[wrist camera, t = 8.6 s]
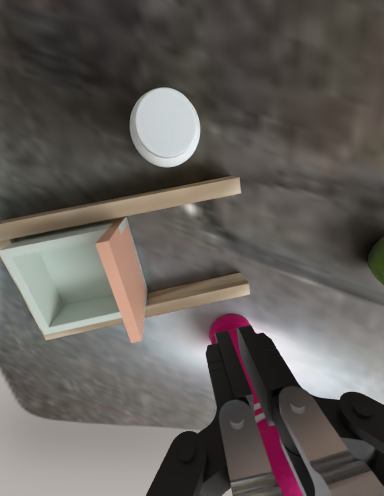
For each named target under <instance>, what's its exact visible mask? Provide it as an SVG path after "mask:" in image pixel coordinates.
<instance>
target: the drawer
mask: <svg viewBox="0 0 384 496" xmlns="http://www.w3.org/2000/svg"><path fill="white" fill-rule="evenodd" d="M0 255H1V256H2V258H3V260H4V262H5V264H6V266H7V267H8V269H9V271H10V273H11V275H12V277H13V278H14V280H15V282H16V284H17V286H18V288H19V289H20V291H21V293H22V295H23V297H24V299H25V300H26V302H27V304H28V306H29V308H30V310H31V311H32V313H33V315H34V317H35V319H36V321H37V323H38V324H39V326H40V328H41V330H42V332H43V334H44V335H47V334H51V333H56V332H60V331H65V330H69V329H74V328H78V327H83V326H87V325H92V324H96V323H101V322H105V321H109V320H114V319H118V318H122V319H123V322H124V325H125V327H126V330H127V333H128V336H129V338H130V341H131V343H134V342H138V341H142V335H143V327H144V318H145V310H146V301H147V292H148V289H147V285H146V282H145V278H144V275H143V271H142V268H141V265H140V261H139V258H138V254H137V251H136V247H135V244H134V240H133V237H132V234H131V230H130V227H129V223H128V220H127V216H124V217H119V218H114V219H109V220H103V221H98V222H93V223H88V224H83V225H78V226H73V227H68V228H63V229H58V230H53V231H48V232H43V233H38V234H33V235H28V236H26V237H24V238H22V239H20V240H18V241H16V242H14V243H12V244H11V245H9V246H7V247H5V248H3V249H1V250H0Z"/></svg>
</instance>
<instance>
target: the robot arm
mask: <svg viewBox="0 0 384 496" xmlns="http://www.w3.org/2000/svg"><path fill="white" fill-rule="evenodd" d="M237 334H238V342H239V350H240V354H241V358H242V361H243V363H244V366H245V368H246V371H247V373H248V376H249V378H250V381H251V383H252V386H253V388H254V390H255V393H256V395H257V398H258V400H259V403H260V405H261V408H262V410H263V413H264V415H265V418H266V420H267V423H268V425H269V426H273V425H275V426H276V428H277V430H278V433H279V435H280V444H281V447H282V449H283V451H284V454H285V456H286V458H287V460H288V463H289V465H290V467H291V469H292V472H293V474H294V476H295V478H296V480H297V483H298V485H299V487H300V489H301V492H302V494H303V496H384V405H383V404H381V403H379V402H377V401H375V400H373V399H371V398H370V397H368V396H366V395H364V394H361V393H357V392H347V393H344V394H343V395H342V396H341V397H340V400H335V399H326V398H319V397H316V396H313V395H311V394H309V393H308V392H307V391H306V390H304V389H303V388H302V387H301V386H300V385H299V384H298V382H297V381H296V379H295V377H294V376H293V374H292V373H291V371H290V369H289V368H288V366H287V364H286V363H285V361H284V359H283V358H282V356H281V355H280V353H279V351H278V350H277V349H276V346H275V345H274V343H273V342H272V340H271V339H270V338H269V337H268V336H266V335H265V334H264V333H259V334H255V332H254V330H253V328H252V326H251V325H247V326H243V327H239V328H237ZM215 339H216V344H211V345H208V347H207V351H206V358H207V363H208V368H209V373H210V378H211V382H212V387H213V391H214V396H215V401H216V405H217V412H216V415H215V418H214V420H213V421H212V423H211V424H210V425H209V426H207V427H206V428H205V429H203V430H202V431H201V432H199V433H198V434H197V433H195V432H193V431H186V432H183V433H181V434H179V435H178V436H177V437H176V438H175V439H174V440H173V442H172V444H171V446H170V448H169V450H168V452H167V454H166V456H165V458H164V460H163V462H162V464H161V466H160V468H159V470H158V472H157V474H156V476H155V478H154V480H153V482H152V484H151V486H150V488H149V490H148V492H147V494H146V496H222V495H223V494H224V493H225V492H226V491H227V490H229V489H230V488H232V494H233V496H283V494H282V491H281V489H280V486H279V484H278V483H277V482H276V480H275V477H274V475H273V472H272V469H271V466H270V463H269V460H268V456H267V453H266V450H265V447H264V444H263V441H262V438H261V435H260V432H259V429H258V426H257V423H256V420H255V412H254V402H253V393H252V391H251V388H250V386H249V383H248V381H247V378H246V375H245V373H244V370H243V368H242V365H241V362H240V360H239V357H238V355H237V352H236V350H235V347H234V344H233V342H232V339H231V337H230V334H229V332H228V330H225V331H221V332H217V333H215Z"/></svg>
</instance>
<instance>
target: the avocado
mask: <svg viewBox="0 0 384 496" xmlns="http://www.w3.org/2000/svg"><path fill="white" fill-rule="evenodd" d="M368 265H369V268H370V270H371V271H372V273H373V274H374V276H375V277H376V278H377V279H378V280H379V281H380V282H381V283H382V284H383V285H384V237H382V238H381V239H380V240H379V241H378V242H377V243H376V244H375V245H374V246H373V248H372V250H371V252H370V253H369V255H368Z"/></svg>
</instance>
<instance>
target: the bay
mask: <svg viewBox="0 0 384 496" xmlns="http://www.w3.org/2000/svg"><path fill="white" fill-rule="evenodd" d="M239 193H241V190H240V179H239V177H234V176H228V177H223V178H218V179H213V180H208V181H203V182H197V183H192V184H187V185H182V186H177V187H172V188H167V189H161V190H156V191H151V192H146V193H141V194H136V195H130V196H125V197H120V198H115V199H110V200H105V201H99V202H94V203H89V204H84V205H79V206H74V207H68V208H63V209H58V210H53V211H48V212H43V213H37V214H32V215H27V216H22V217H17V218H12V219H6V220H3V221H0V250H1V249H3V248H5V247H7V246H9V245H11V244H12V243H14V242H16V241H18V240H20V239H22V238H24V237H26V236H28V235H33V234H38V233H43V232H48V231H53V230H58V229H63V228H68V227H73V226H78V225H83V224H88V223H93V222H98V221H103V220H109V219H114V218H119V217H124V216H129V215H134V214H139V213H144V212H149V211H154V210H159V209H164V208H169V207H174V206H179V205H184V204H189V203H194V202H199V201H204V200H209V199H214V198H219V197H224V196H229V195H234V194H239ZM0 257H1V259H2V261H3V262H4V260H3V258H2V256H1V255H0ZM4 264H5V262H4ZM5 266H6V264H5ZM6 268H7V270H8V272H9V273H10V271H9V269H8V267H7V266H6ZM10 275H11V273H10ZM11 277H12V275H11ZM12 279H13V281H14V283H15V284H16V282H15V280H14V278H13V277H12ZM16 286H17V284H16ZM17 288H18V286H17ZM18 290H19V292H20V294H21V295H22V293H21V291H20V289H19V288H18ZM249 294H250V291H249V283H248V282H247V280H246V279H245V277H244V276H243V275H242V273H241V272H240V273H235V274H231V275H226V276H222V277H217V278H213V279H208V280H203V281H199V282H194V283H190V284H185V285H181V286H176V287H172V288H167V289H162V290H158V291H153V292H149V293H147V301H146V310H145V318H147V317H151V316H156V315H160V314H165V313H169V312H174V311H178V310H182V309H187V308H191V307H196V306H200V305H205V304H209V303H213V302H218V301H222V300H227V299H231V298H236V297H240V296H245V295H249ZM22 297H23V295H22ZM23 299H24V297H23ZM24 301H25V303H26V304H27V302H26V300H25V299H24ZM27 306H28V304H27ZM28 308H29V306H28ZM29 310H30V308H29ZM30 312H31V314H32V315H33V313H32V311H31V310H30ZM33 317H34V315H33ZM34 319H35V317H34ZM35 321H36V319H35ZM36 323H37V321H36ZM120 323H124V322H123V319H122V318H118V319H114V320H109V321H105V322H101V323H96V324H92V325H87V326H83V327H78V328H74V329H69V330H65V331H60V332H56V333H51V334H47V335H44V334H43V332H42V330H41V328H40V326H39V324H38V323H37V325H38V326H39V328H40V330H41V332H42V334H43V336H44V337H45V339H46V340H49V339H54V338H58V337H63V336H67V335H72V334H76V333H80V332H85V331H89V330H94V329H98V328H103V327H107V326H111V325H116V324H120Z"/></svg>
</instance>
